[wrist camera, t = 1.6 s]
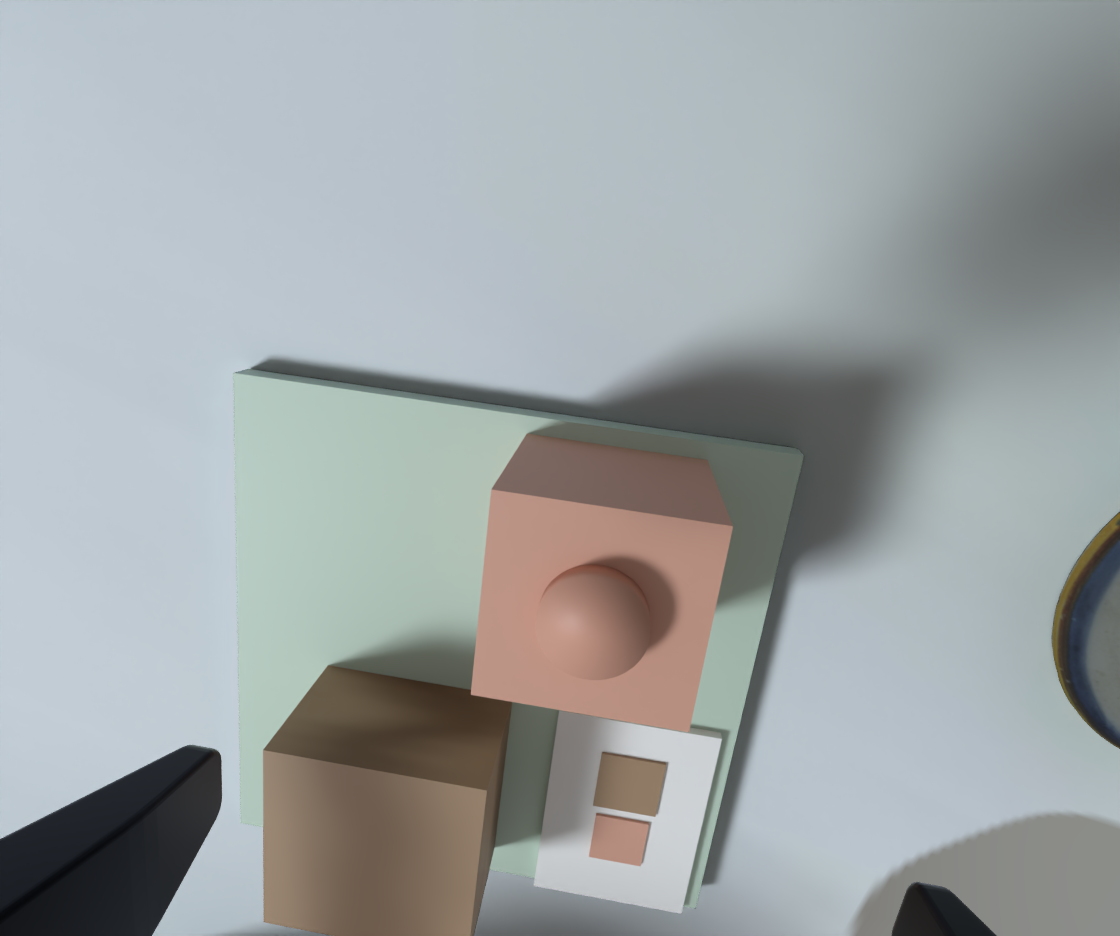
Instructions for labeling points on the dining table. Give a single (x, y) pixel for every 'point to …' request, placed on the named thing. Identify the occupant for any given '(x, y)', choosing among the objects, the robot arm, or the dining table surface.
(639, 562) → the pink knobbed block
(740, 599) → the board
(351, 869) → the walnut brick
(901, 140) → the dining table surface
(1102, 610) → the ornate grey vase
